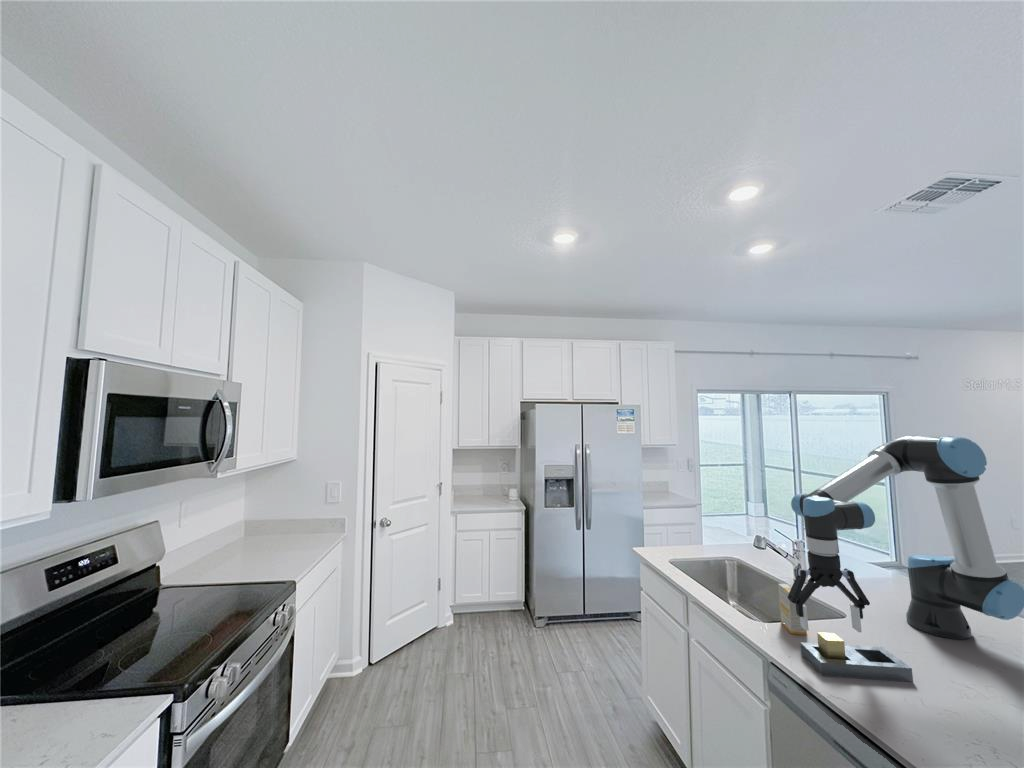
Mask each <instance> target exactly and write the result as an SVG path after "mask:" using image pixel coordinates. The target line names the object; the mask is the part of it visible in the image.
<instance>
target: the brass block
mask: <svg viewBox="0 0 1024 768" xmlns="http://www.w3.org/2000/svg"><path fill="white" fill-rule="evenodd" d="M816 633H817V643H818V649H819V653H820V654H821V655H822V656H823V657H824V658H825V659H836V660H846V657H845V645H846V644H845V640H843V639H842V638H841V637H840V636H838V635H837V634H836V633H835V632H818V631H817V632H816Z"/></svg>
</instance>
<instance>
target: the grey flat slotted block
mask: <svg viewBox="0 0 1024 768" xmlns="http://www.w3.org/2000/svg"><path fill="white" fill-rule="evenodd" d="M799 645H800V655H801V656H802V658H804V659H805V661H807V662H808V664H810V665H811V667H812V668H813V669H815V670H816V672H818V674H819V675H820V676H821V677H833V678H846V679H847V678H848V679H860V680H877V681H888V682H889V681H892V682H903V683H905V682H906V683H914V677H913V676H914V675H913V668H912V667H911V666H909V664H907V663H905V662H904V661H902V660H901V659H900V658H898V657H897V656H896V655H894V654H893V653H892V652H890V651H889V650H887V649H886V648H884V647H883V646H866V645H865V646H864V645H854V644H853V645H852V644H851V645H849V644H844V645H845V657H846V660H836V659H825V658H824V657H823V656H822V655H821V654H820V653H819V649H818V642H817V643H814V642H802V641H801V642H800V643H799Z"/></svg>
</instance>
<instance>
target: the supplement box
mask: <svg viewBox="0 0 1024 768" xmlns="http://www.w3.org/2000/svg"><path fill="white" fill-rule="evenodd" d="M777 586H778V597H779V598H778V599H779V609H780V610H779V611H780V623H781V624H782V623H785V624H782V625H783V626H784V627H785V629H786V630H788V631H789V633H791V634H793V635H803V636H806V635H808V632H807V631H808V630H805V629H804V628H803V627H802V626H801V623H800V617H799V616H798V615H797V613H796V604H795V603H792V602H791V601H790V600H789V599H788V595H789V592H790V590H791V588H792V586H793V584H792V583H791V584H790V583H778V585H777Z"/></svg>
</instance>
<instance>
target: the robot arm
mask: <svg viewBox="0 0 1024 768" xmlns="http://www.w3.org/2000/svg"><path fill="white" fill-rule="evenodd" d="M987 463H988V461H987V457H986V454H985V452H984V450H983V449H982V448H981V446H980V445H978V444H977V442H974V441H972V440H971V439H969V438H967V437H966V438H965V437H961V436H951V435H937V436H936V435H907V436H902V437H898V438H895V439H892V440H890V441H887V442H885V443H883V444H882V445H880V446H878V447H876V448H874V449H872V450H871V451H869V453H868V455H867V458H865V459H863V460H862V461H860V462H858V463H857V464H855V465H853V466H852V467H850V468H848V469H847V470H846V471H844V472H843V473H840V475H839V474H838V475H837V476H836V477H834V478H833V479H831V480H829V481H828V482H827V483H825V484H823V485H821V486H820V487H818V488H817V489H815V490H814V491H813V490H812V492H810V493H797V494H795V495H793V497H792V499H791V502H790V506H791V509H792V511H793V512H794V513H795V515H798V516H799V517H802V518H803V522H804V531H805V541H806V549H807V550H808V551H807V552H806V553H807V562H808V569H803V568H801V567H798V568H797V569H796V577H795V579H794V582H793V584H792V585H793V586H792V588H791V590H790V592H789V595H788V599H789V600H790V601H791V602H792V603H795V604H796V613H797V615H798V616H799V617H800V623H801V626H802V627H803V628H804V629H805V630H807V631H809V621H808V620H809V618H808V608H807V605H805V603H806V602H807V601H808V599H810V597H811V596H812V595H813V594H814V592H815V591H816V590H817V589H819V588H820V587H822V588H827V587H830V588H835V587H837V588H838V589H839V590H840V591H841V593H843V594H844V595H845V596H846V597H847V599H849V600H850V602H851V603H850V604H849V608H850V617H851V626H852V629H854V630H855V631H856V632H857V633H862V631H863V630H862V623H861V622H862V621H861V620H863V619H864V613H863V610H864V609H865V607H866V606H870V604H871V603H870V601H869V599H868V598H867V596H866V595H865V593H864V591H863V590H862V588H861V587H860V585H859V583H858V581H857V580H856V577H855V575H854V574H855V573H854V572H853V571H852V570H850V569H849V568H844V569H843V570H842V569H841V560H840V559H841V557H840V555H839V553H840V547H839V546H840V545H839V539H838V538H839V536H838V531H847V530H863V529H868V528H872V527H873V526H874V525H875V522H876V516H875V512H874V510H873V509H872V508H871V506H870V505H868V504H866V503H864V502H862V501H858V502H857V501H852V500H853V499H854V498H855V497H857V496H859V495H860V494H862V493H864V492H865V491H867V490H868V489H869V488H872V487H873V486H874V485H877V483H880V482H881V481H882V480H884V479H886V478H887V477H894V476H897V475H900V474H901V473H904V472H921V473H924V478H925V481H926V482H928V483H929V484H930V485H932V486H934V490H935V492H936V496H937V501H938V504H939V507H940V511H941V514H942V518H943V521H944V525H945V530H946V532H947V537H948V540H949V542H950V546H951V550H952V553H953V557H954V558H953V557H949V556H942V555H934V554H914V555H913V554H912V555H910V556H908V557H907V558H908V559H907V570H908V571H907V573H908V581H909V587H910V598H911V599H910V602H909V606H908V609H907V612H906V613H905V616H906V622H907V623H908V625H910V626H912V628H915V629H917V630H919V631H922V632H924V633H927V634H931V635H933V636H937V637H942V638H944V639H945V638H947V639H952V640H968V639H971V638H972V637H973V634H972V629H971V626H970V624H969V622H968V620H967V619H966V616H965V614H964V612H963V610H962V608H961V607H963V608H966V609H970V610H973V611H975V612H979V613H981V614H984V615H985V616H987V617H993V618H996V619H999V620H1004V621H1009V620H1013V619H1015V618H1017V617H1018V616H1019V615H1020V614H1021V613H1022V611H1023V610H1024V588H1023V586H1022V585H1021V584H1019V583H1018V582H1016V581H1015V580H1011V579H1009V576H1008V572H1007V570H1006V568H1005V567H1003V566H1002V565H1000V564H998V563H997V561H996V557H995V554H994V550H993V547H992V542H991V540H990V536H989V532H988V529H987V526H986V523H985V519H984V515H983V511H982V509H981V508H982V507H981V505H980V504H981V503H980V502H979V498H978V494H977V490H976V487H975V485H976V484H977V483H978V482H979V481H980V480H981V479H980V476H981V475H983V474H984V473H985V472H986V470H987V468H986V466H987ZM849 501H851V502H849ZM808 576H810V578H809V579H808V580H807V583H806V579H807V578H808ZM842 577H843V578H845V580H846V581H847V583H848V584H849V586H850V588H851V589H852V591H853V593H854V594H855V595H856V596H855V595H854V594H853V593H852V592H851V590H849V589H848V588H847V587H846V585H845V584H843V582H842V581H841V579H842ZM805 583H806V584H805Z"/></svg>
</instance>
